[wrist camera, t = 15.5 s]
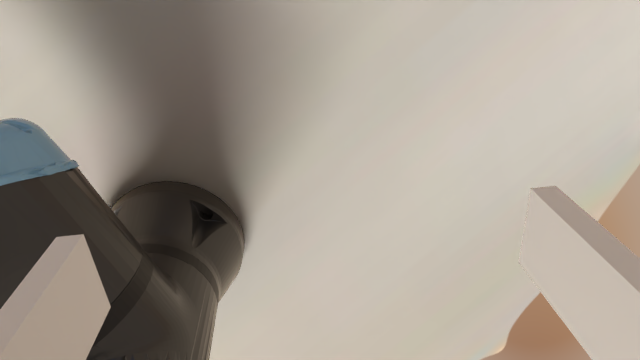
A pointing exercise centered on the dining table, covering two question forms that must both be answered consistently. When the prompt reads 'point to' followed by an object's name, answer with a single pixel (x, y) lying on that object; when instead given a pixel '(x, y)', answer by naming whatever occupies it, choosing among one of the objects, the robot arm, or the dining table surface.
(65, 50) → the dining table surface
